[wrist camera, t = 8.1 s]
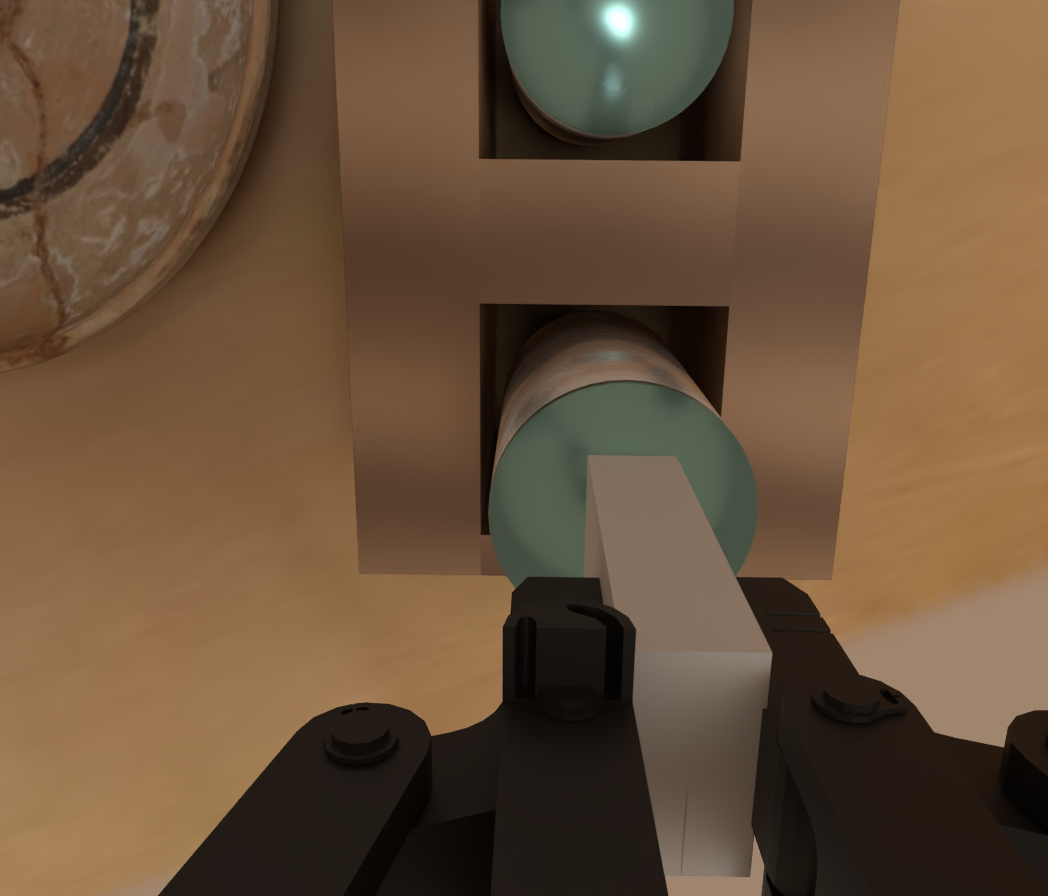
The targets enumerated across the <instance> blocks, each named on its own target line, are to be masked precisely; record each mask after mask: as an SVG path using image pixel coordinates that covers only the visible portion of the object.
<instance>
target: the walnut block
mask: <svg viewBox="0 0 1048 896" xmlns="http://www.w3.org/2000/svg"><path fill="white" fill-rule="evenodd" d="M899 5H900V0H734V14H733V22H732V30H731V34H730V38H729V42H728V46H727V48H726V51H725V54H724V56H723V59H722V61H721V63H720V65H719V67H718V69H717V71H716V73H715V75H714V76H713V78H712V79H711V81H710V82H709V84H708V85H707V87H706V88H705V89H704V90H703V92H702V93H701V94H700V95H699V96H698V97H697V98H696V99H695V101H694V102H692V103H691V104H690V105H689V106H688V107H687V108H686V109H684V110H683V111H682V124H681V141H680V159H679V161H634V160H532V159H496V0H332V8H333V29H334V50H335V71H336V93H337V114H338V135H339V156H340V177H341V198H342V219H343V240H344V262H345V283H346V304H347V325H348V346H349V367H350V388H351V409H352V431H353V452H354V473H355V494H356V515H357V536H358V557H359V574H429V575H500V576H506V574H505V572H504V571H503V569H502V567H501V565H500V563H499V561H498V558H497V556H496V553H495V550H494V548H493V544H492V540H491V535H490V530H489V517H488V509H489V496H490V489H491V482H492V475H493V468H494V461H495V454H496V447H497V440H498V435H496V304H574V305H663V306H671V318H670V336H669V349H670V350H671V352H672V353H673V354H674V356H675V357H676V358H677V360H678V361H679V362H680V364H681V365H682V366H683V368H684V369H685V370H686V372H687V373H688V374H689V376H690V377H691V378H692V380H693V381H694V382H695V384H696V385H697V386H698V388H699V389H700V390H701V392H702V393H703V394H704V396H705V397H706V398H707V400H708V401H709V402H710V404H711V405H712V406H713V408H714V409H715V410H716V412H717V413H718V414H719V416H720V417H721V418H722V420H723V421H724V422H725V424H726V425H727V426H728V428H729V429H730V430H731V432H732V433H733V434H734V436H735V437H736V438H737V440H738V442H739V443H740V445H741V447H742V448H743V450H744V451H745V453H746V456H747V458H748V460H749V463H750V465H751V467H752V471H753V474H754V478H755V482H756V487H757V496H758V519H757V525H756V531H755V535H754V539H753V542H752V545H751V549H750V551H749V553H748V555H747V557H746V560H745V562H744V564H743V566H742V567H741V569H740V570H739V572H738V574H737V575H736V577H776V578H783V579H785V580H832V571H833V563H834V554H835V546H836V537H837V529H838V520H839V512H840V504H841V495H842V487H843V478H844V470H845V461H846V453H847V444H848V436H849V427H850V419H851V411H852V402H853V394H854V385H855V377H856V368H857V360H858V351H859V343H860V335H861V326H862V318H863V309H864V301H865V292H866V284H867V275H868V267H869V258H870V250H871V242H872V233H873V225H874V216H875V208H876V199H877V191H878V182H879V174H880V166H881V157H882V149H883V140H884V132H885V123H886V115H887V106H888V98H889V89H890V81H891V73H892V64H893V56H894V47H895V39H896V30H897V22H898V13H899Z"/></svg>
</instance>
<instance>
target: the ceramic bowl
mask: <svg viewBox="0 0 1048 896" xmlns="http://www.w3.org/2000/svg"><path fill="white" fill-rule="evenodd" d="M279 17H280V0H0V373H1V372H5V371H10V370H15V369H20V368H25V367H30V366H33V365H36V364H39V363H41V362H44V361H47V360H49V359H52V358H55V357H58V356H60V355H62V354H64V353H66V352H68V351H70V350H72V349H74V348H76V347H78V346H80V345H82V344H84V343H86V342H88V341H90V340H91V339H93V338H95V337H97V336H98V335H100V334H102V333H104V332H106V331H107V330H109V329H110V328H112V327H113V326H115V325H116V324H118V323H119V322H121V321H122V320H123V319H125V318H126V317H128V316H129V315H130V314H132V313H133V312H135V311H136V310H137V309H139V308H140V307H142V306H143V305H145V304H146V303H147V302H148V301H149V300H150V299H151V298H152V297H153V296H154V295H155V294H156V293H158V292H159V291H160V290H161V289H162V288H163V287H164V286H165V285H166V284H167V283H168V282H169V281H170V280H171V279H172V278H173V277H174V276H175V275H176V274H177V273H178V272H179V270H180V269H181V268H182V267H183V266H184V265H185V264H186V263H187V262H188V261H189V259H190V258H191V257H192V255H193V254H194V252H195V251H196V250H197V248H198V247H199V246H200V244H201V243H202V242H203V240H204V239H205V238H206V236H207V235H208V234H209V232H210V231H211V230H212V228H213V226H214V225H215V223H216V221H217V220H218V218H219V216H220V214H221V213H222V211H223V209H224V208H225V206H226V204H227V202H228V201H229V199H230V197H231V195H232V193H233V191H234V189H235V187H236V185H237V183H238V181H239V179H240V177H241V175H242V173H243V171H244V169H245V166H246V164H247V161H248V158H249V156H250V153H251V150H252V148H253V145H254V143H255V140H256V137H257V134H258V130H259V127H260V123H261V120H262V116H263V113H264V109H265V106H266V102H267V98H268V95H269V91H270V85H271V80H272V74H273V69H274V63H275V57H276V49H277V42H278V31H279Z"/></svg>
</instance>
